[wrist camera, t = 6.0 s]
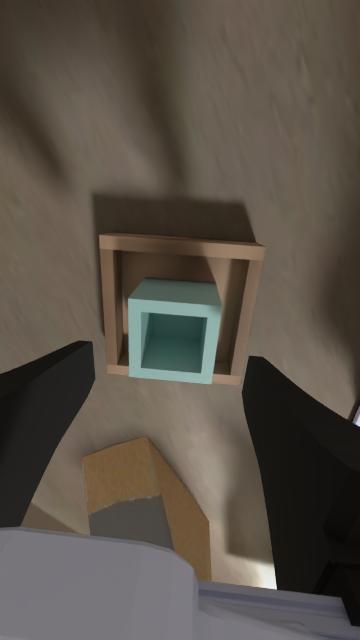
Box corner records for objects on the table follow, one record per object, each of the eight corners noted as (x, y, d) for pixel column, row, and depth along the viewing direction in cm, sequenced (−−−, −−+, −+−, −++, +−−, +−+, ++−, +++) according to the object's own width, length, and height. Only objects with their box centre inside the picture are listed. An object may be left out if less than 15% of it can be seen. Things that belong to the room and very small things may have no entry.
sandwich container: (147, 431, 25) (85, 703, 11) (212, 521, 30) (225, 787, 16) (78, 455, 27) (-48, 712, 13) (149, 535, 32) (112, 784, 18)
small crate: (215, 282, 18) (222, 306, 13) (208, 344, 20) (211, 384, 15) (145, 276, 18) (128, 298, 13) (145, 339, 20) (129, 376, 15)
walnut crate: (256, 242, 17) (265, 247, 15) (234, 366, 21) (239, 385, 19) (111, 232, 17) (98, 235, 15) (116, 356, 21) (107, 373, 19)
